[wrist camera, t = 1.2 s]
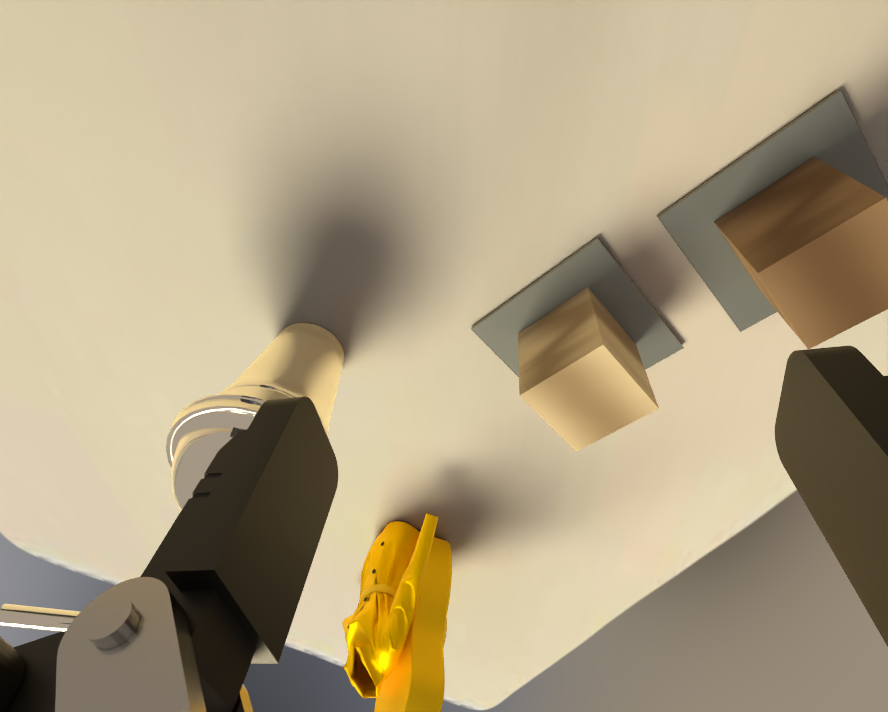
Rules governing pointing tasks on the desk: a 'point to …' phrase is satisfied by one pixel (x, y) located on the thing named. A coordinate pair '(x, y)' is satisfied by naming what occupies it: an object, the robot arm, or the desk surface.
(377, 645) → the figure statuette
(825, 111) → the code tile
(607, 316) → the maple block
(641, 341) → the code tile
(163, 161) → the desk surface
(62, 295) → the desk surface
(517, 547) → the desk surface
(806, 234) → the walnut block
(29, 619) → the cup with straw
